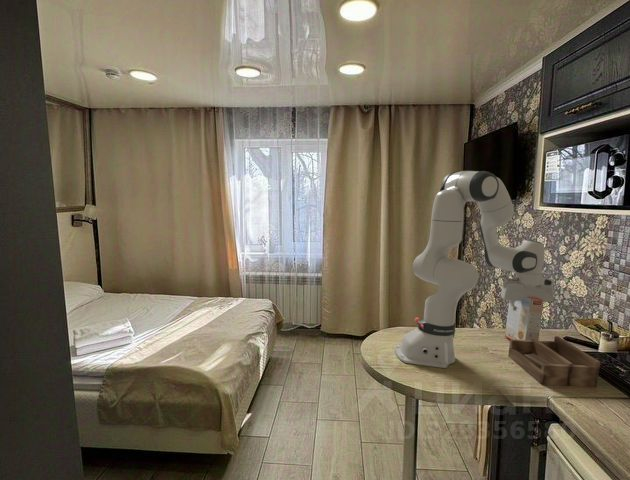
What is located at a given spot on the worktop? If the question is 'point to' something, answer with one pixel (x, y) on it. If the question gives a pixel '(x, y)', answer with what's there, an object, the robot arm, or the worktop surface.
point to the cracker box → (524, 319)
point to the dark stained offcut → (536, 360)
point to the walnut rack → (556, 362)
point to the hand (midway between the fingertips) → (524, 310)
